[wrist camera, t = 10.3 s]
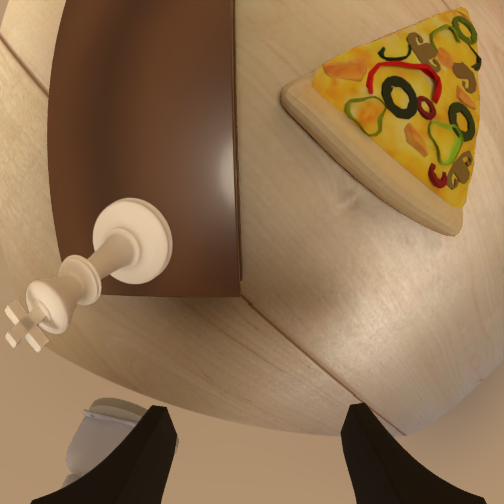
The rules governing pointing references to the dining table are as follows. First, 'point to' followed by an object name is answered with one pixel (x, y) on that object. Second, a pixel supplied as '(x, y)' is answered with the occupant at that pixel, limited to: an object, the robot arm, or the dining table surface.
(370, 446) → the robot arm
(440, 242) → the dining table surface
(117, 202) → the chess piece
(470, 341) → the dining table surface
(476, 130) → the pizza slice
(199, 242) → the stand
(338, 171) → the dining table surface
